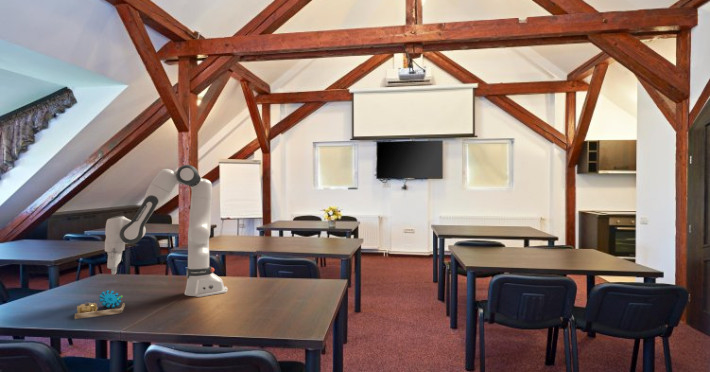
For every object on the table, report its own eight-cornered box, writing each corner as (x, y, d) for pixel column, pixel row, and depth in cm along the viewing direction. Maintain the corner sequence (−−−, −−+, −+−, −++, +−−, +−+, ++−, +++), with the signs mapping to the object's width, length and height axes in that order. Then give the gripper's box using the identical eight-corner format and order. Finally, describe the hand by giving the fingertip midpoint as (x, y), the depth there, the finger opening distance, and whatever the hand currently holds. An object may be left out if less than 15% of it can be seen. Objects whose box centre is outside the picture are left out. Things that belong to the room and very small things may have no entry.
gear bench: (124, 305, 184) (124, 301, 184) (121, 313, 173) (121, 308, 173) (80, 310, 176) (80, 306, 176) (74, 318, 165) (74, 314, 165)
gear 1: (98, 308, 178) (98, 299, 178) (95, 312, 171) (95, 303, 171) (79, 310, 175) (79, 301, 175) (75, 315, 168) (75, 305, 168)
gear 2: (103, 307, 176) (97, 290, 181) (97, 315, 178) (91, 298, 182) (126, 304, 186) (120, 288, 190) (120, 311, 187) (114, 295, 192)
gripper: (119, 249, 185) (118, 277, 185) (124, 244, 204) (123, 269, 203) (104, 250, 182) (103, 278, 182) (110, 244, 201) (109, 270, 201)
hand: (113, 274), depth 193 cm, fingers closed
